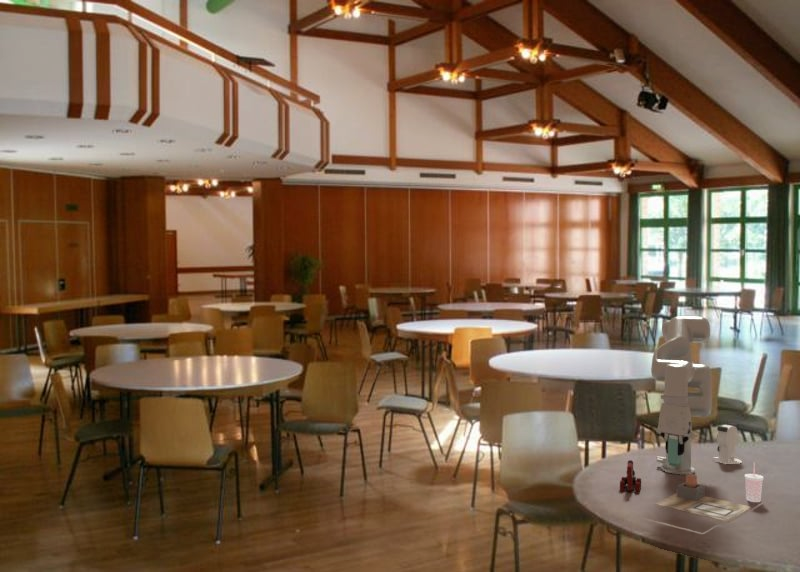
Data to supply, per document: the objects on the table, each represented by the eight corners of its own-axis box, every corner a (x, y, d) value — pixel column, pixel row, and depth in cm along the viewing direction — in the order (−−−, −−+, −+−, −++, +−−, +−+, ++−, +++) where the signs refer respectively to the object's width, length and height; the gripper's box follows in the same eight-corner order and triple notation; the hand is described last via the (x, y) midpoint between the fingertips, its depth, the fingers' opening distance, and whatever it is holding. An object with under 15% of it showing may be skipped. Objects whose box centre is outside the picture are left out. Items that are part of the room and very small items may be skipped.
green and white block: (667, 465, 279) (668, 434, 278) (672, 463, 281) (672, 432, 280) (677, 467, 276) (677, 436, 276) (681, 465, 279) (682, 434, 278)
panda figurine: (720, 455, 344) (721, 420, 343) (747, 461, 335) (748, 425, 335) (707, 460, 336) (708, 424, 335) (734, 466, 327) (735, 429, 326)
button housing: (677, 496, 286) (677, 485, 286) (685, 492, 291) (686, 481, 291) (696, 501, 281) (696, 489, 281) (705, 496, 286) (705, 485, 286)
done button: (683, 489, 286) (684, 475, 286) (688, 487, 289) (688, 473, 288) (693, 491, 284) (694, 477, 283) (698, 489, 286) (698, 475, 286)
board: (654, 505, 279) (654, 503, 279) (681, 492, 293) (681, 490, 293) (727, 523, 261) (727, 520, 261) (751, 508, 276) (751, 506, 276)
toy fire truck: (641, 486, 301) (642, 458, 300) (639, 496, 289) (639, 467, 288) (622, 484, 303) (622, 457, 302) (619, 494, 291) (619, 465, 291)
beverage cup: (754, 505, 279) (755, 465, 278) (740, 500, 284) (740, 460, 284) (767, 502, 282) (767, 462, 281) (752, 497, 287) (752, 458, 286)
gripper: (648, 398, 280) (647, 451, 281) (694, 405, 269) (693, 460, 270) (658, 395, 286) (657, 447, 287) (704, 402, 274) (703, 455, 276)
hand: (674, 453), depth 278 cm, fingers closed on green and white block, 3 cm apart
